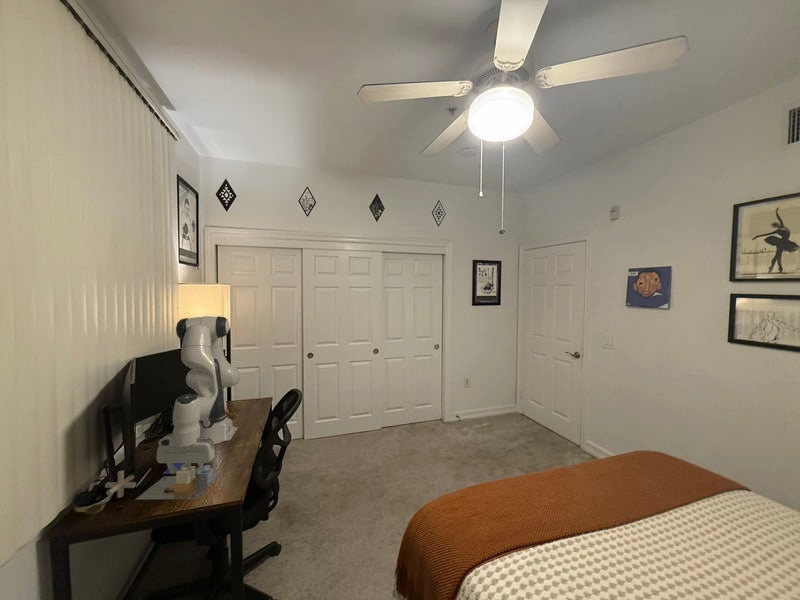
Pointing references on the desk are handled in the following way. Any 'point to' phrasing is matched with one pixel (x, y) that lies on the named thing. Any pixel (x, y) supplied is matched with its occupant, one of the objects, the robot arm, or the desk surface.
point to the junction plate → (169, 482)
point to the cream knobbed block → (185, 474)
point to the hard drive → (175, 466)
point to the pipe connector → (120, 484)
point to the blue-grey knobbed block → (205, 475)
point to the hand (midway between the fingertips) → (185, 473)
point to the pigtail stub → (183, 488)
